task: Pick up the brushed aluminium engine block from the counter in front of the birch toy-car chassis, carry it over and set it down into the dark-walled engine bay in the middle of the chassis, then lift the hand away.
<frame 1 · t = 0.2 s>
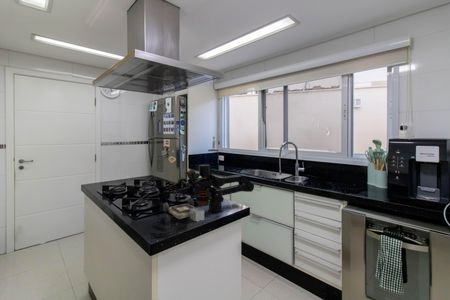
hand: (173, 189, 114), 16 cm above the table, tool horizontal, fingers open, 9 cm apart
engine block: (197, 219, 118), on the table
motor: (204, 203, 146), on the table
chassis: (183, 211, 129), on the table
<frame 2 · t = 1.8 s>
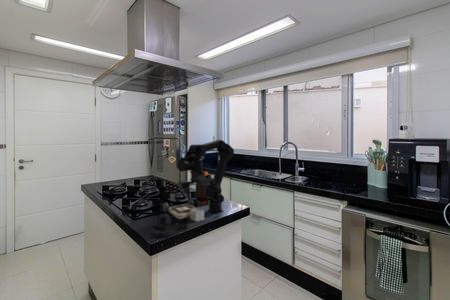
hand: (197, 198, 118), 11 cm above the table, tool pointing down, fingers open, 9 cm apart
nothing on the table moved.
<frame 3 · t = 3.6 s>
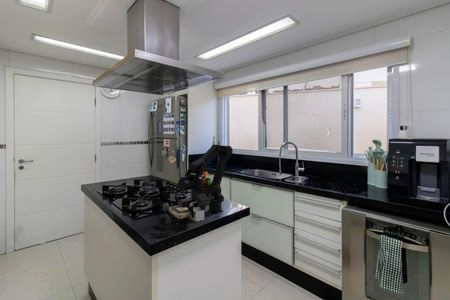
hand: (197, 217, 118), 1 cm above the table, tool pointing down, fingers closed on engine block, 5 cm apart
engine block: (197, 218, 118), on the table, touching gripper
everything else where it was.
when the fingers open (4 cm above the table, at t = 7.3 s): engine block drops 2 cm, resting on chassis.
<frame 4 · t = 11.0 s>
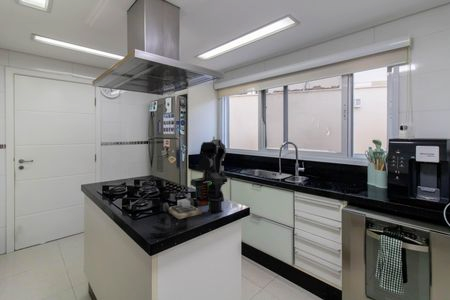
hand: (209, 197, 115), 12 cm above the table, tool pointing down, fingers open, 9 cm apart
engine block: (183, 209, 129), point 1 cm above the table, touching chassis
everything else where it was.
at the end: engine block 0.1 cm from the target spot, point 1.5 cm above the table; engine block tilted 0°; the gripper is holding nothing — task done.
